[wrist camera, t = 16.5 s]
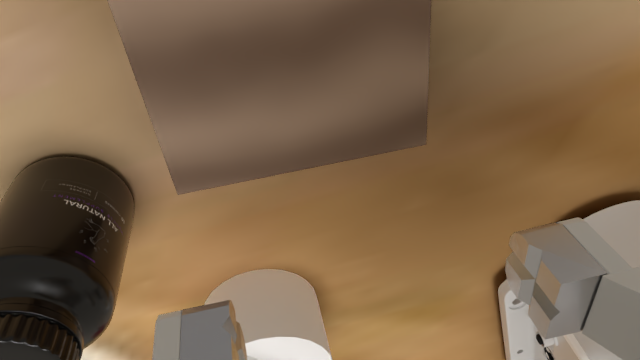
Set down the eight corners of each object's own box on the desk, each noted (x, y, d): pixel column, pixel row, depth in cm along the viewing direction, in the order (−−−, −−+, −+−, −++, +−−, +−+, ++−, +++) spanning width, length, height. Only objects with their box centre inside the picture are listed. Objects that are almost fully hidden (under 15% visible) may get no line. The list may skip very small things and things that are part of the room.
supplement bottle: (137, 157, 28) (102, 324, 19) (134, 244, 32) (104, 421, 22) (2, 145, 26) (-115, 325, 17) (16, 239, 30) (-73, 432, 20)
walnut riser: (402, 111, 30) (426, 144, 27) (180, 155, 29) (177, 194, 26) (402, -158, 22) (436, -156, 19) (89, -114, 21) (69, -104, 17)
